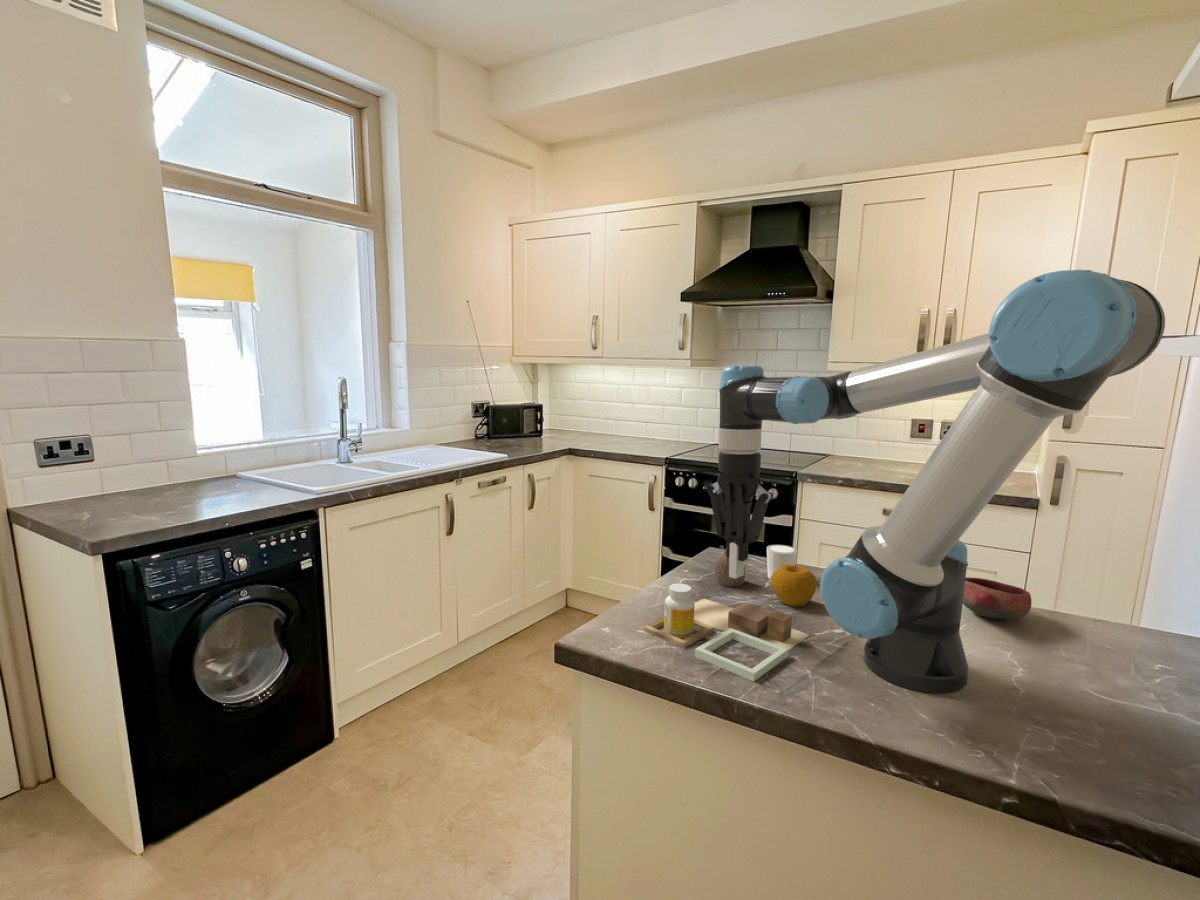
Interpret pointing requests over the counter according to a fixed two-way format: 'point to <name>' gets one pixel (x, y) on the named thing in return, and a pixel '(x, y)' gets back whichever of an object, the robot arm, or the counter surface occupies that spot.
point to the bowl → (996, 599)
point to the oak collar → (677, 641)
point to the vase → (726, 573)
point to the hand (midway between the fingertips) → (736, 575)
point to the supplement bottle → (679, 611)
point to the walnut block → (749, 619)
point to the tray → (741, 670)
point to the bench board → (775, 634)
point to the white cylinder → (779, 557)
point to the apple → (793, 585)
